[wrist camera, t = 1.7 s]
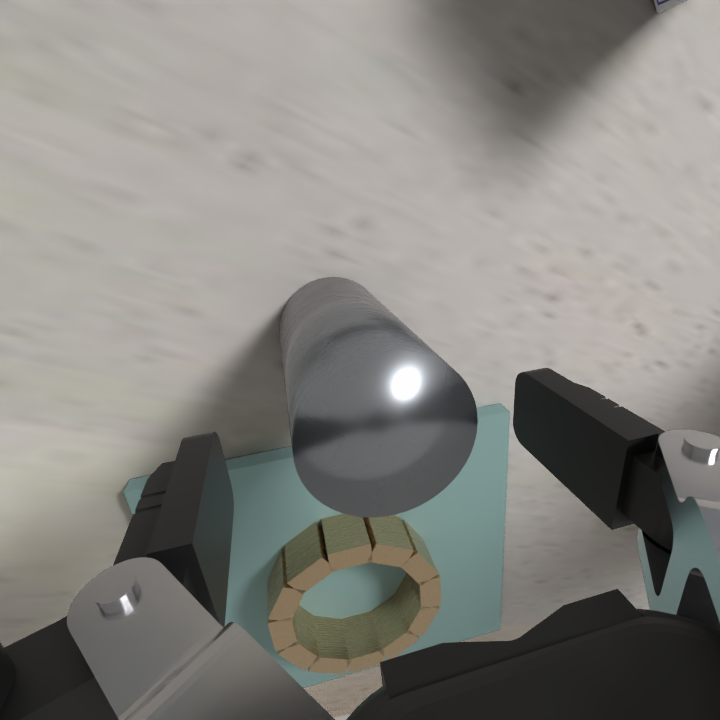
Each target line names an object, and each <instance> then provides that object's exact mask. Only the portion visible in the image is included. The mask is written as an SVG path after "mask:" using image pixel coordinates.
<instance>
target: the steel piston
mask: <svg viewBox="0 0 720 720" xmlns="http://www.w3.org/2000/svg"><path fill="white" fill-rule="evenodd" d="M280 340H281V349H282V359H283V368H284V377H285V387H286V396H287V405H288V414H289V424H290V433H291V442H292V451H293V460H294V464H295V468H296V471H297V473H298V476H299V478H300V480H301V482H302V483H303V485H304V486H305V488H306V489H307V490H308V491H309V492H310V493H311V494H312V496H313V497H314V498H316V499H317V500H318V501H319V502H321V503H322V504H324V505H325V506H327V507H329V508H331V509H333V510H335V511H338V512H340V513H343V514H347V515H351V516H357V517H369V518H375V517H386V516H391V515H396V514H399V513H403V512H406V511H409V510H411V509H414V508H416V507H418V506H420V505H422V504H424V503H426V502H427V501H429V500H431V499H432V498H434V497H435V496H437V495H438V494H439V493H440V492H441V491H443V490H444V489H445V488H446V487H447V486H448V485H449V484H450V483H451V482H452V481H453V480H454V479H455V478H456V476H457V475H458V474H459V473H460V471H461V470H462V468H463V467H464V465H465V464H466V462H467V460H468V458H469V456H470V454H471V452H472V449H473V446H474V443H475V439H476V434H477V425H478V418H477V409H476V404H475V400H474V398H473V395H472V393H471V391H470V389H469V387H468V385H467V384H466V382H465V381H464V380H463V378H462V377H461V376H460V375H459V374H458V373H457V372H456V371H455V370H454V369H453V368H452V367H450V366H449V365H448V364H447V363H446V362H445V361H444V360H443V359H442V358H441V357H440V356H438V355H437V354H436V353H435V352H434V351H433V350H432V349H431V348H430V347H429V346H428V345H426V344H425V343H424V342H423V341H422V340H421V339H420V338H419V337H418V336H417V335H415V334H414V333H413V332H412V331H411V330H410V329H409V328H408V327H407V326H406V325H405V324H403V323H402V322H401V321H400V320H399V319H398V318H397V317H396V316H395V315H394V314H393V313H391V312H390V311H389V310H388V309H387V308H386V307H385V306H384V305H383V304H382V303H380V302H379V301H378V300H377V299H376V298H375V297H374V296H373V295H372V294H371V293H370V292H368V291H367V290H366V289H365V288H364V287H362V286H361V285H360V284H358V283H356V282H354V281H351V280H348V279H344V278H339V277H328V278H322V279H317V280H315V281H312V282H310V283H308V284H306V285H304V286H303V287H301V288H300V289H299V290H298V291H296V292H295V293H294V294H293V296H292V297H291V298H290V299H289V301H288V302H287V304H286V305H285V308H284V310H283V312H282V315H281V320H280Z"/></svg>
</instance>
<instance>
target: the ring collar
mask: <svg viewBox="0 0 720 720" xmlns="http://www.w3.org/2000/svg"><path fill="white" fill-rule="evenodd" d="M321 520H322V526H323V527H322V526H321V525H320V524H319V523H318V522H317V521H316V522H314V523H313V524H312V525H310V526H309V527H308V528H306V529H305V530H303V531H302V532H301V533H299V534H298V535H297V536H295V537H294V538H293V539H291V540H290V541H289V542H287V543H286V544H285V549H282V548H281V550H280V553H279V555H278V557H277V559H276V561H275V563H274V566H273V568H272V570H271V572H270V574H269V577H268V582H267V605H268V627H269V630H270V634H271V638H272V641H273V645H274V648H275V651H278V655H280V656H281V657H283V658H284V659H286V660H287V661H289V662H291V663H292V664H294V665H295V666H297V667H299V668H300V669H302V670H303V671H304V670H305V669H307V668H308V672H315V673H330V674H344V673H345V671H346V669H347V668H348V672H349V674H350V673H353V672H356V671H360V670H363V669H366V668H370V667H373V666H376V665H380V662H382V661H385V657H386V658H387V659H392V658H394V657H396V656H397V655H399V654H400V653H401V652H403V651H404V650H406V649H407V648H408V647H410V646H411V645H413V644H414V643H415V642H417V641H418V640H420V638H419V635H420V636H423V635H424V634H425V632H426V631H427V629H428V627H429V626H430V624H431V623H432V621H433V619H434V618H435V616H436V614H437V613H438V611H439V610H440V607H439V605H441V581H440V575H439V573H438V571H437V568H436V566H435V564H434V562H433V560H432V558H431V555H430V553H429V551H428V549H427V547H426V545H425V542H424V540H423V538H422V537H421V536H420V535H419V534H418V533H417V532H416V531H415V530H414V529H413V528H412V527H411V526H410V525H409V524H408V523H407V522H406V521H405V520H404V519H402V520H401V519H400V517H399V516H394V515H391V516H386V517H375V518H369V517H357V516H351V515H347V514H339V515H335V516H331V517H326V518H322V519H321ZM369 562H372V563H378V564H384V565H390V566H396V567H401V568H403V569H404V570H405V571H406V572H407V573H406V575H405V576H404V578H403V580H402V582H401V583H400V585H399V587H398V589H397V590H396V592H395V594H394V595H392V596H391V597H389V598H388V599H387V600H385V601H384V602H383V603H381V604H380V605H378V606H377V607H376V608H374V609H373V610H371V611H369V612H365V613H362V614H358V615H354V616H351V617H347V618H343V619H338V618H329V617H320V616H314V615H312V614H311V613H309V612H308V611H307V610H305V609H304V608H303V607H301V606H300V605H299V603H300V601H301V599H302V597H303V595H304V593H305V592H306V591H308V590H309V589H311V588H312V587H313V586H315V585H316V584H317V583H319V582H320V581H321V580H323V579H324V578H326V577H327V576H328V575H330V574H331V573H332V572H334V571H337V570H341V569H345V568H349V567H353V566H357V565H361V564H365V563H369Z"/></svg>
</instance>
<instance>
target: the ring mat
mask: <svg viewBox="0 0 720 720" xmlns="http://www.w3.org/2000/svg"><path fill="white" fill-rule="evenodd" d="M476 409H477V418H478V425H477V434H476V439H475V443H474V446H473V449H472V452H471V454H470V456H469V458H468V460H467V462H466V464H465V465H464V467H463V468H462V470H461V471H460V473H459V474H458V475H457V476H456V478H455V479H454V480H453V481H452V482H451V483H450V484H449V485H448V486H447V487H446V488H445V489H444V490H443V491H441V492H440V493H439V494H438V495H437V496H435V497H434V498H432V499H431V500H429V501H427V502H426V503H424V504H422V505H420V506H418V507H416V508H414V509H411V510H409V511H406V512H403V513H399V514H396V515H394V516H399V517H400V519H401V520H402V519H404V520H405V521H406V522H407V523H408V524H409V525H410V526H411V527H412V528H413V529H414V530H415V531H416V532H417V533H418V534H419V535H420V536H421V537H422V538H423V540H424V542H425V545H426V547H427V549H428V551H429V553H430V555H431V558H432V560H433V562H434V564H435V566H436V568H437V571H438V573H439V575H440V581H441V605H439V607H440V610H439V611H438V613H437V614H436V616H435V618H434V619H433V621H432V623H431V624H430V626H429V627H428V629H427V631H426V632H425V634H424V635H423V636H420V635H419V638H420V640H418V641H417V642H415V643H414V644H413V645H411V646H410V647H408V648H407V649H406V650H404V651H403V652H401V653H400V654H399V655H397V656H396V657H398V656H402V655H405V654H408V653H411V652H414V651H418V650H421V649H424V648H427V647H431V646H434V645H437V644H440V643H450V642H460V641H463V640H466V639H470V638H473V637H476V636H480V635H483V634H486V633H490V632H493V631H497V630H500V620H501V598H502V576H503V553H504V531H505V509H506V487H507V465H508V443H509V421H510V411H509V410H508V409H506V408H505V407H504V406H503V405H502V404H501V403H500V404H495V405H490V406H485V407H480V408H476ZM225 462H226V466H227V470H228V473H229V477H230V481H231V485H232V490H233V498H234V515H233V528H232V540H231V553H230V566H229V578H228V591H227V603H226V616H225V626H226V625H227V624H228V623H229V622H235V623H236V624H238V625H239V626H241V627H242V628H243V629H244V630H245V631H246V632H247V633H248V634H249V635H250V636H251V637H252V638H253V639H254V640H255V641H256V642H257V643H258V644H259V645H260V646H261V647H262V648H263V649H264V650H265V651H266V652H267V653H268V654H269V655H270V656H271V657H272V658H273V659H274V660H275V661H276V662H277V663H278V664H279V665H280V666H281V667H282V668H283V669H284V670H285V671H286V672H287V673H288V674H289V675H291V676H292V677H293V678H294V679H295V680H296V681H297V682H298V683H299V684H300V685H301V686H302V687H303V688H306V687H309V686H312V685H316V684H319V683H322V682H326V681H329V680H332V679H336V678H339V677H342V676H346V675H349V672H348V668H347V669H346V671H345V673H344V674H330V673H315V672H308V668H307V669H305V670H304V671H303V670H302V669H300V668H299V667H297V666H295V665H294V664H292V663H291V662H289V661H287V660H286V659H284V658H283V657H281V656H280V655H278V651H275V648H274V645H273V641H272V638H271V634H270V630H269V627H268V605H267V582H268V577H269V574H270V572H271V570H272V568H273V566H274V563H275V561H276V559H277V557H278V555H279V553H280V550H281V548H282V549H285V544H286V543H287V542H289V541H290V540H291V539H293V538H294V537H295V536H297V535H298V534H299V533H301V532H302V531H303V530H305V529H306V528H308V527H309V526H310V525H312V524H313V523H314V522H316V521H317V522H318V523H319V524H320V525H321V526H322V520H321V519H322V518H326V517H331V516H335V515H339V514H343V513H340V512H338V511H335V510H333V509H331V508H329V507H327V506H325V505H324V504H322V503H321V502H319V501H318V500H317V499H316V498H314V497H313V496H312V494H311V493H310V492H309V491H308V490H307V489H306V488H305V486H304V485H303V483H302V482H301V480H300V478H299V476H298V473H297V471H296V468H295V464H294V460H293V451H292V446H290V447H286V448H281V449H276V450H271V451H266V452H261V453H256V454H251V455H247V456H242V457H237V458H232V459H227V460H225ZM150 476H151V475H149V476H144V477H140V478H135V479H130V480H129V482H128V484H127V486H126V488H125V490H124V492H123V493H124V495H125V498H126V500H127V503H128V505H129V508H130V510H131V513H132V515H133V514H135V509H136V506H137V504H138V501H139V499H141V494H142V491H143V489H144V486H145V484H146V481H147V479H148V478H149V477H150ZM322 527H323V526H322ZM406 573H407V572H406V571H405V570H404V569H403V568H401V567H396V566H390V565H384V564H378V563H372V562H369V563H365V564H361V565H357V566H353V567H349V568H345V569H341V570H337V571H334V572H332V573H331V574H330V575H328V576H327V577H326V578H324V579H323V580H321V581H320V582H319V583H317V584H316V585H315V586H313V587H312V588H311V589H309V590H308V591H306V592H305V593H304V595H303V597H302V599H301V601H300V603H299V605H300V606H301V607H303V608H304V609H305V610H307V611H308V612H309V613H311V614H312V615H314V616H320V617H329V618H338V619H343V618H347V617H351V616H354V615H358V614H362V613H365V612H369V611H371V610H373V609H374V608H376V607H377V606H378V605H380V604H381V603H383V602H384V601H385V600H387V599H388V598H389V597H391V596H392V595H394V594H395V592H396V590H397V589H398V587H399V585H400V583H401V582H402V580H403V578H404V576H405V575H406ZM394 658H395V657H394ZM385 660H389V659H387V658H386V657H385ZM376 666H379V665H376ZM376 666H373V667H376ZM373 667H370V668H373ZM366 669H369V668H366ZM366 669H363V670H366ZM360 671H362V670H360ZM356 672H359V671H356ZM356 672H353V673H356ZM350 674H352V673H350Z"/></svg>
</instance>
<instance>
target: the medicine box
mask: <svg viewBox="0 0 720 720" xmlns="http://www.w3.org/2000/svg"><path fill="white" fill-rule="evenodd" d="M685 1H687V0H654V3H655V7H656V11H657V12H658V13H662V12H664V11H666V10H668V9H670V8H672V7H674V6H676V5H678V4H681V3H683V2H685Z"/></svg>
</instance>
